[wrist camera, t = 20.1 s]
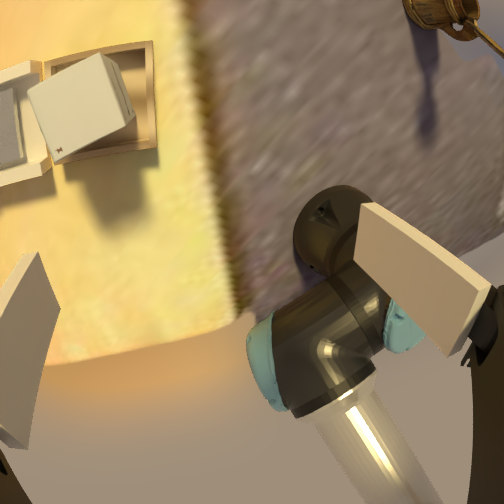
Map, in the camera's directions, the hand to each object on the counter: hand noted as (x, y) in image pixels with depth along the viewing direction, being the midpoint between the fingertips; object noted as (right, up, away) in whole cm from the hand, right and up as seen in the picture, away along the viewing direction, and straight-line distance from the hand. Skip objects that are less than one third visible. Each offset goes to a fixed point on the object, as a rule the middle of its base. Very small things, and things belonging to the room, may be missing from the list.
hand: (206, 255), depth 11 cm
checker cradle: (-30, +16, +16) cm, 37 cm away
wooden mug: (+30, +40, +22) cm, 54 cm away
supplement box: (-16, +18, +19) cm, 30 cm away
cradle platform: (-29, +15, +14) cm, 36 cm away
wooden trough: (-16, +18, +19) cm, 31 cm away
